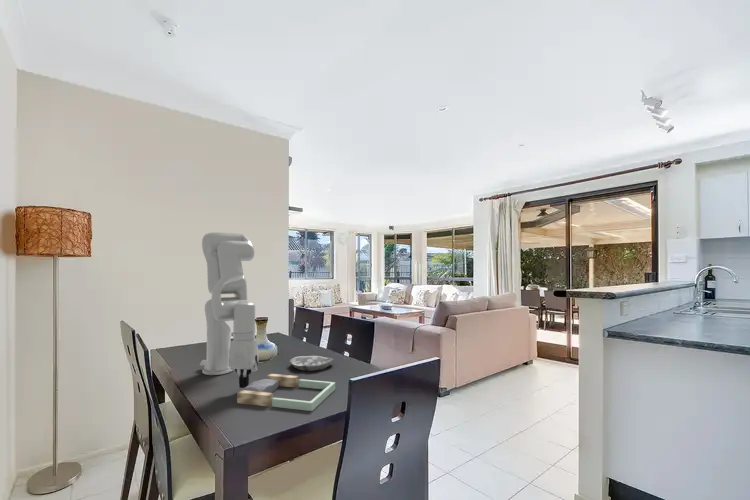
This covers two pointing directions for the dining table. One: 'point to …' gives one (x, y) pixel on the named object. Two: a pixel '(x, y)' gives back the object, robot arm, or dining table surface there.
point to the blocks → (264, 397)
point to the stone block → (262, 386)
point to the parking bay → (306, 405)
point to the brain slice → (311, 362)
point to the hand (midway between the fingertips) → (243, 386)
